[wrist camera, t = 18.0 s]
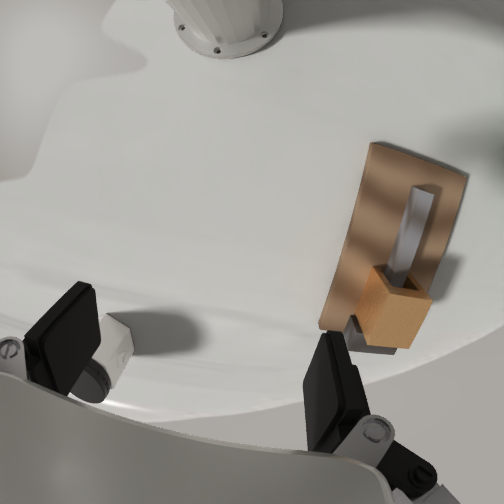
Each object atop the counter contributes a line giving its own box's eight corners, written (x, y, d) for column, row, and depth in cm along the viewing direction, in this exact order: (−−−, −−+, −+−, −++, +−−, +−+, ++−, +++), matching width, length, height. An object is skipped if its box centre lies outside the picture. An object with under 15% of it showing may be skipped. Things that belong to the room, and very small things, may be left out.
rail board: (370, 142, 32) (386, 145, 27) (460, 175, 32) (483, 183, 27) (318, 323, 42) (323, 347, 37) (401, 333, 42) (413, 356, 37)
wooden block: (372, 266, 36) (390, 293, 30) (410, 273, 36) (432, 300, 30) (354, 312, 39) (367, 345, 33) (392, 317, 39) (408, 348, 33)
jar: (138, 359, 47) (112, 411, 36) (97, 351, 47) (67, 397, 36) (128, 316, 43) (95, 367, 32) (85, 309, 44) (47, 354, 33)
